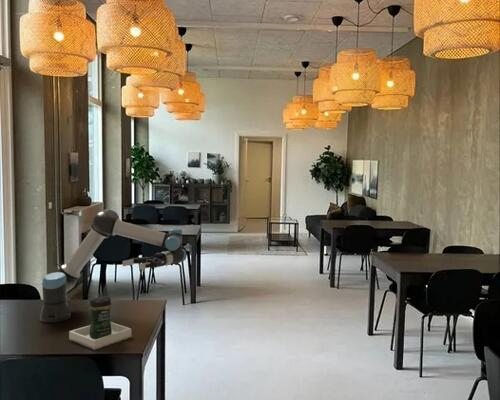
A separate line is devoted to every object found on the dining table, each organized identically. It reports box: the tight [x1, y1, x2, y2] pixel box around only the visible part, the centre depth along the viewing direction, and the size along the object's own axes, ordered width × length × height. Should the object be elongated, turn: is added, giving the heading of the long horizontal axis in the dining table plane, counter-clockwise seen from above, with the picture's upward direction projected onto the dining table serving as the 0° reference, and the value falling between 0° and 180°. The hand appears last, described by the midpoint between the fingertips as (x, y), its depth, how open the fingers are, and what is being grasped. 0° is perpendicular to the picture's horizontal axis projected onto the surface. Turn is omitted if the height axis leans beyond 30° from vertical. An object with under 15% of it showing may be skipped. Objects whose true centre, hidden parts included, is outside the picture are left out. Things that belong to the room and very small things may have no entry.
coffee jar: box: [89, 295, 112, 339], centre depth 218 cm, size 10×8×19 cm
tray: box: [68, 321, 133, 351], centre depth 219 cm, size 20×20×4 cm
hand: (131, 265), depth 240 cm, fingers open, 13 cm apart
